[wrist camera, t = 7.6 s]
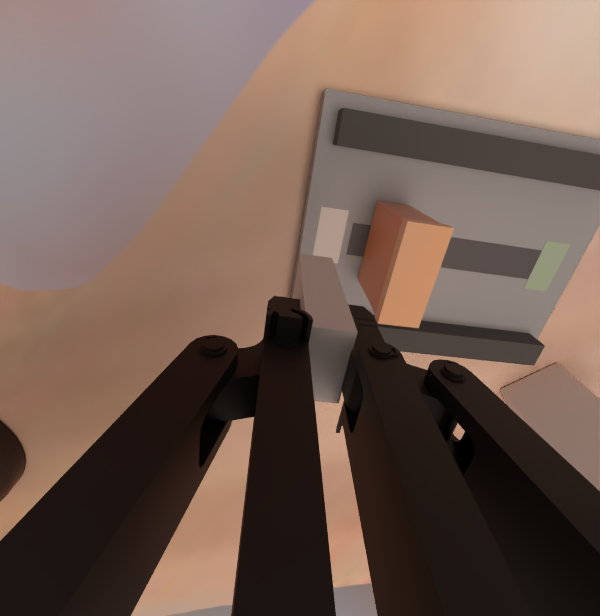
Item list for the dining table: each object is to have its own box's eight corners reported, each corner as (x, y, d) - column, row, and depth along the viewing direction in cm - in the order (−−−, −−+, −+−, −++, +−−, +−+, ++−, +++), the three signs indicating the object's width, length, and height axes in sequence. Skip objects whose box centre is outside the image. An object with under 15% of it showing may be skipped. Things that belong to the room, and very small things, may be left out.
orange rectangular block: (356, 280, 27) (377, 323, 21) (376, 198, 24) (407, 221, 18) (388, 284, 27) (418, 328, 21) (411, 204, 24) (454, 228, 18)
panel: (286, 324, 31) (286, 336, 29) (322, 91, 23) (326, 88, 21) (511, 349, 33) (525, 362, 31) (616, 146, 25) (642, 147, 23)
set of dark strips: (299, 327, 29) (301, 340, 27) (338, 109, 22) (343, 107, 20) (519, 352, 31) (533, 365, 29) (620, 161, 24) (647, 163, 22)
